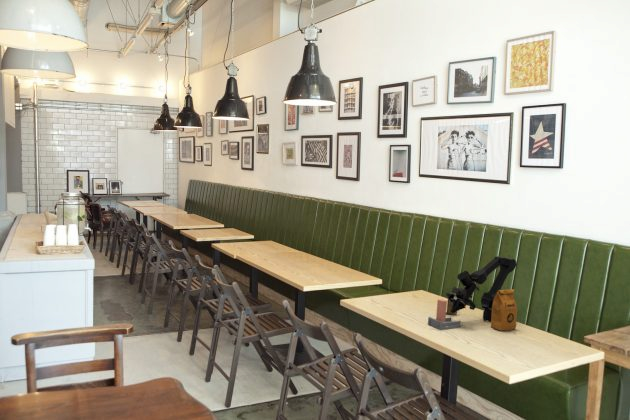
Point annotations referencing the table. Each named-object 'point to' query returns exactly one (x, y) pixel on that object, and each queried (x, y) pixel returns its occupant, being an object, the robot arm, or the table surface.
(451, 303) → the condiment
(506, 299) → the coffee package
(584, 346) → the table surface
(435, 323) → the track housing
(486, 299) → the robot arm
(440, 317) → the tall terracotta column
